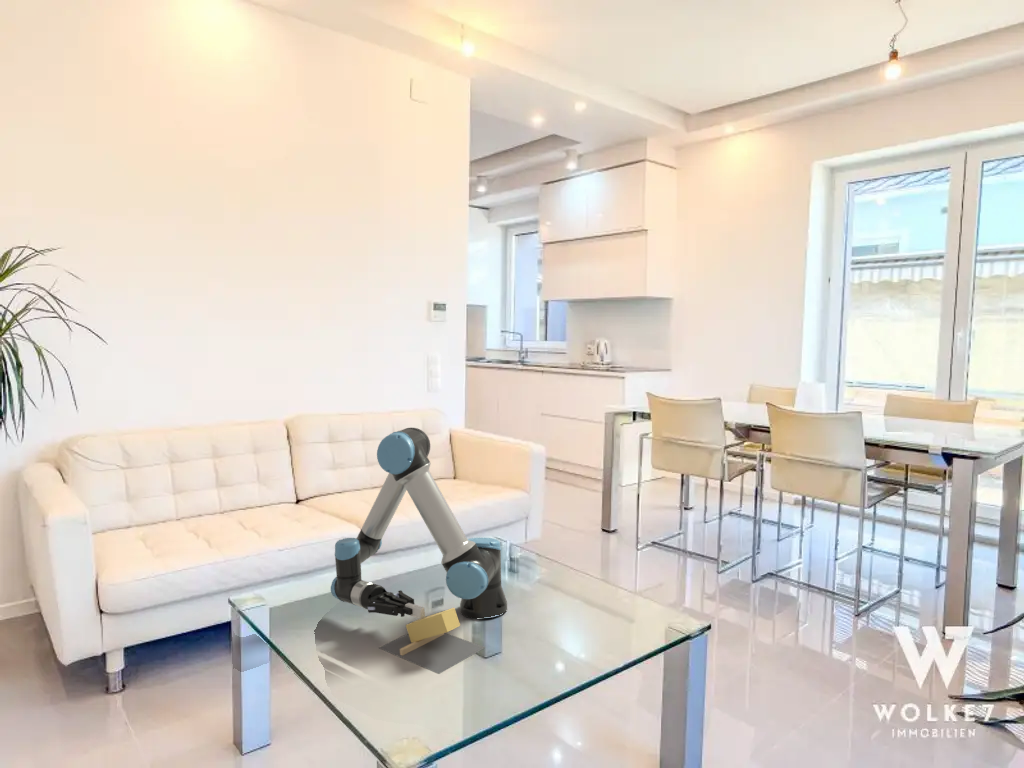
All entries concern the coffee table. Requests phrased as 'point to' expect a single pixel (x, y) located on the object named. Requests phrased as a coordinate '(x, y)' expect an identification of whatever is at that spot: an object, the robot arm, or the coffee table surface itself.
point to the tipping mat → (433, 651)
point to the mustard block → (433, 625)
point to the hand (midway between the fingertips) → (422, 613)
